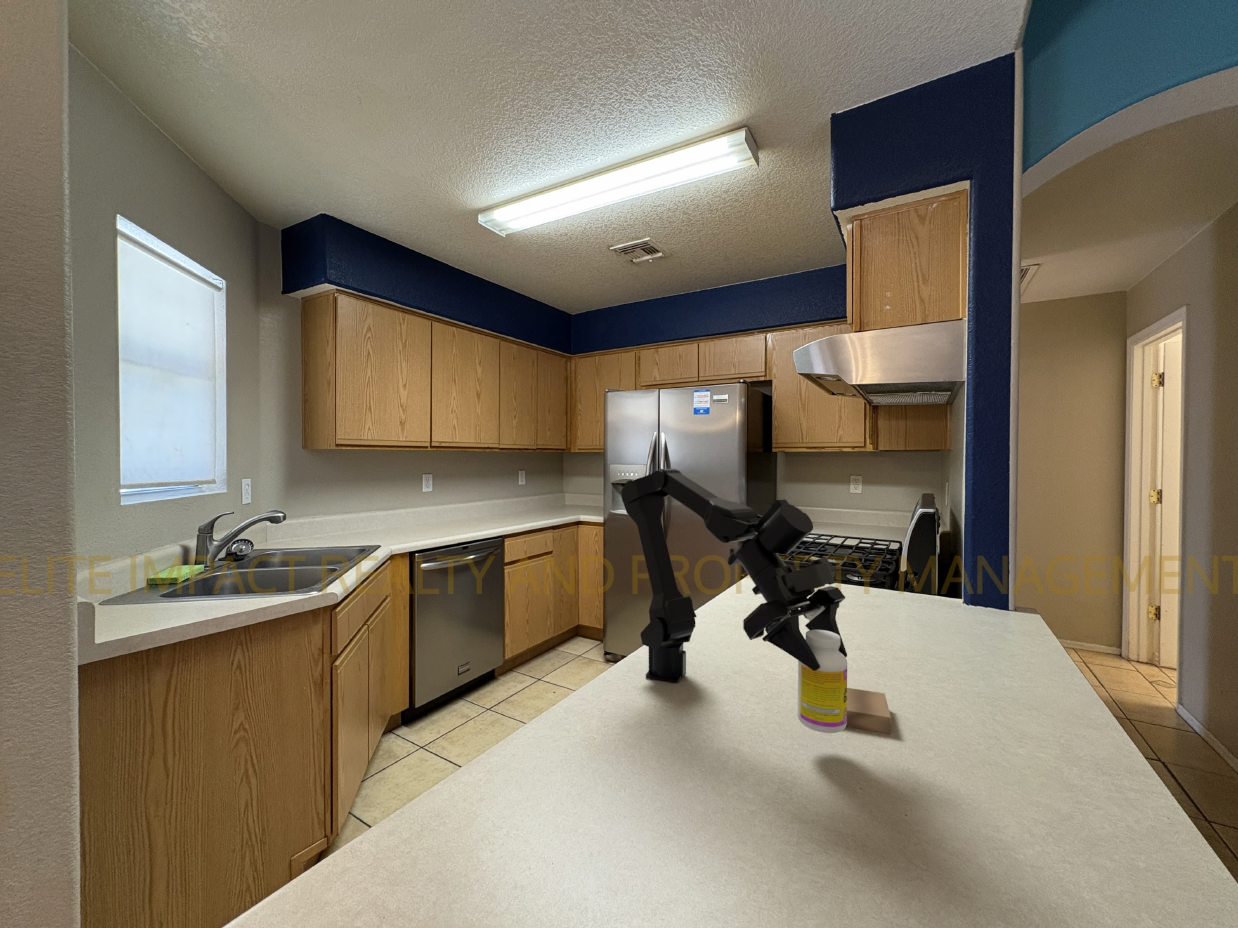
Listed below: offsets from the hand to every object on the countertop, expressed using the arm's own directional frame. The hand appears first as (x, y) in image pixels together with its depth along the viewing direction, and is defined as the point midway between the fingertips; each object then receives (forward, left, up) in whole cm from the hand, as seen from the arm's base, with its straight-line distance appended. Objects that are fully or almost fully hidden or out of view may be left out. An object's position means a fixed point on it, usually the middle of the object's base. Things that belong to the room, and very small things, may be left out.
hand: (831, 663), depth 74 cm
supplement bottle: (-1, +1, -9) cm, 9 cm away
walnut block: (+4, +15, -13) cm, 20 cm away
